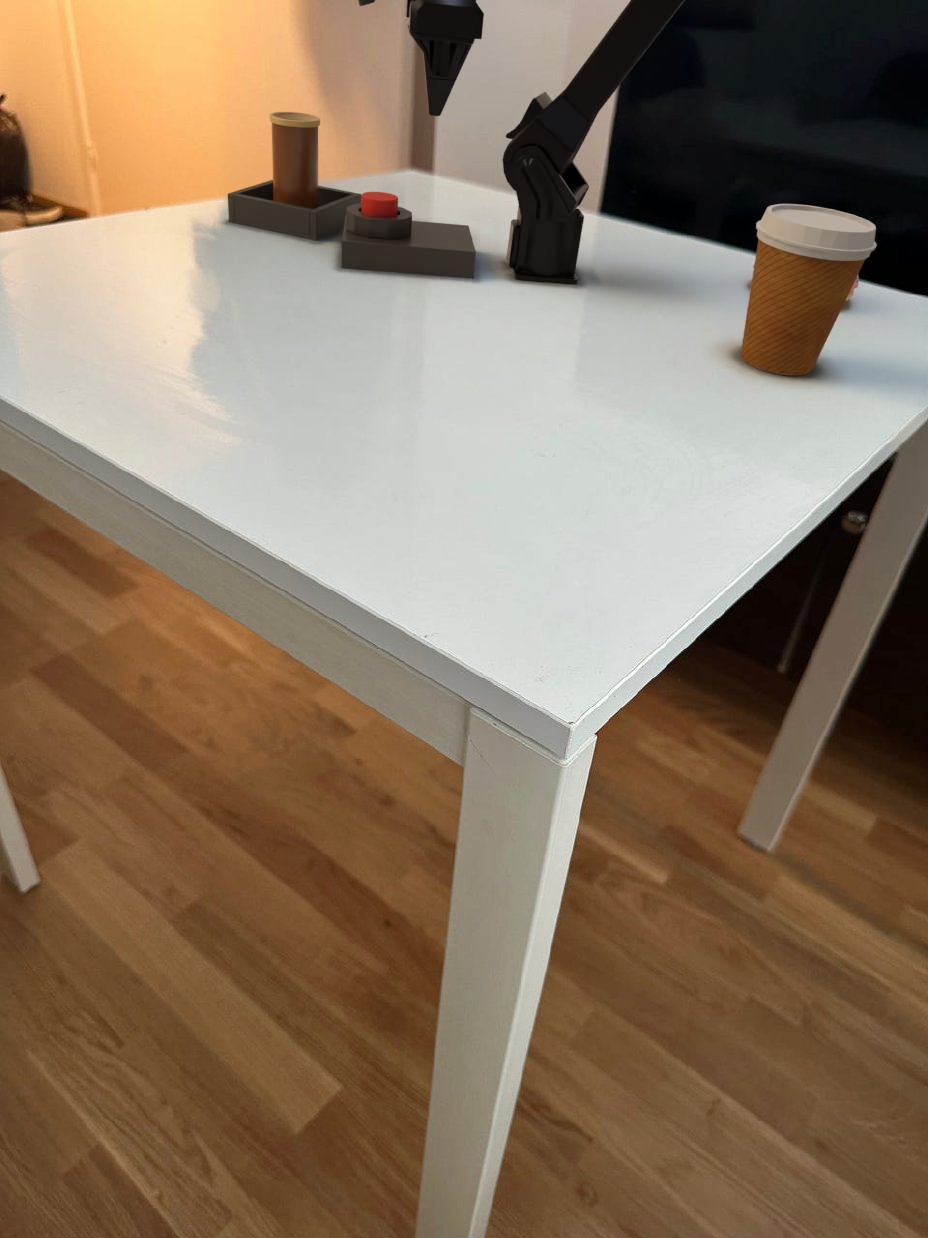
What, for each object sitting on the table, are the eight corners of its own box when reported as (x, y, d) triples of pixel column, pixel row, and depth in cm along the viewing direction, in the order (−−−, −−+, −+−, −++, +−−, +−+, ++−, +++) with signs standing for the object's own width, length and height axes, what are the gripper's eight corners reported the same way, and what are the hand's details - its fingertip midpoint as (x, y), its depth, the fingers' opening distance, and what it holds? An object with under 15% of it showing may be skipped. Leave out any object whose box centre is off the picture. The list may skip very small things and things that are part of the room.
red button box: (466, 251, 100) (470, 207, 97) (473, 279, 92) (477, 232, 89) (344, 241, 98) (345, 196, 95) (341, 269, 90) (342, 220, 88)
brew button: (397, 211, 94) (398, 193, 93) (397, 220, 91) (398, 201, 90) (361, 208, 93) (362, 190, 92) (360, 217, 90) (361, 198, 89)
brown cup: (329, 221, 102) (330, 120, 96) (289, 225, 99) (288, 121, 93) (301, 209, 105) (300, 110, 99) (262, 213, 102) (259, 112, 96)
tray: (361, 222, 105) (362, 193, 103) (316, 241, 97) (316, 211, 95) (279, 205, 108) (278, 177, 106) (228, 223, 99) (227, 193, 98)
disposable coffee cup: (773, 388, 76) (821, 235, 69) (699, 346, 82) (736, 202, 75) (855, 377, 80) (908, 232, 73) (778, 338, 86) (820, 201, 79)
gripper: (358, -96, 87) (353, 92, 96) (352, -100, 72) (347, 123, 81) (475, -81, 88) (459, 103, 98) (493, -83, 73) (473, 135, 83)
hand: (434, 115), depth 90 cm, fingers closed
